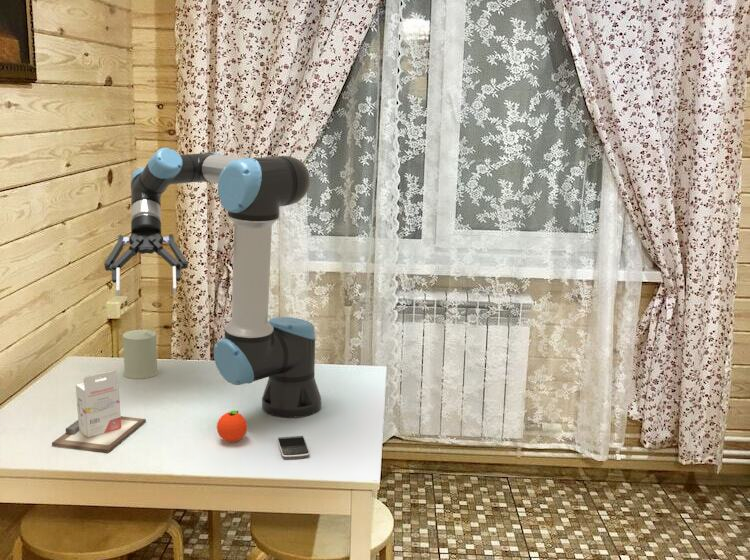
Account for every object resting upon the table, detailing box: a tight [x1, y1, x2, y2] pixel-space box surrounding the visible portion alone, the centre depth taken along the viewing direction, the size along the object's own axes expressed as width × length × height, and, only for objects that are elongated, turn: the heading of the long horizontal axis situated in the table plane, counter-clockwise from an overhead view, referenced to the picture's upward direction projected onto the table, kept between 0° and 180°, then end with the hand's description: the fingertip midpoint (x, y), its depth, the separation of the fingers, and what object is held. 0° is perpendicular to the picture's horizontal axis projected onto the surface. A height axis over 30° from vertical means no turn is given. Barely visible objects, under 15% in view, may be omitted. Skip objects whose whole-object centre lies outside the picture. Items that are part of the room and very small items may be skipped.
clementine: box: [216, 410, 248, 443], centre depth 201 cm, size 8×7×7 cm
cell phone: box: [276, 435, 311, 460], centre depth 198 cm, size 6×11×1 cm, turn 13°
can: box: [122, 329, 159, 380], centre depth 242 cm, size 9×9×12 cm
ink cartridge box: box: [75, 369, 121, 437], centre depth 201 cm, size 9×5×15 cm, turn 132°
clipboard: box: [51, 415, 147, 454], centre depth 203 cm, size 14×18×2 cm
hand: (146, 292), depth 214 cm, fingers open, 13 cm apart
